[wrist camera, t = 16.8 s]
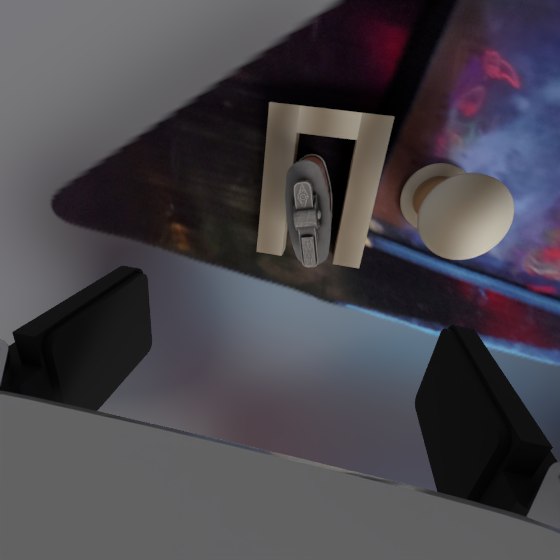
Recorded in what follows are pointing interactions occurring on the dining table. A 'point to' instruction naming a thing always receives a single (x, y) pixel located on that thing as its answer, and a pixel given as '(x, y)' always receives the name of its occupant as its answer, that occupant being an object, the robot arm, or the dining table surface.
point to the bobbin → (457, 210)
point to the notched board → (361, 181)
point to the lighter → (309, 209)
